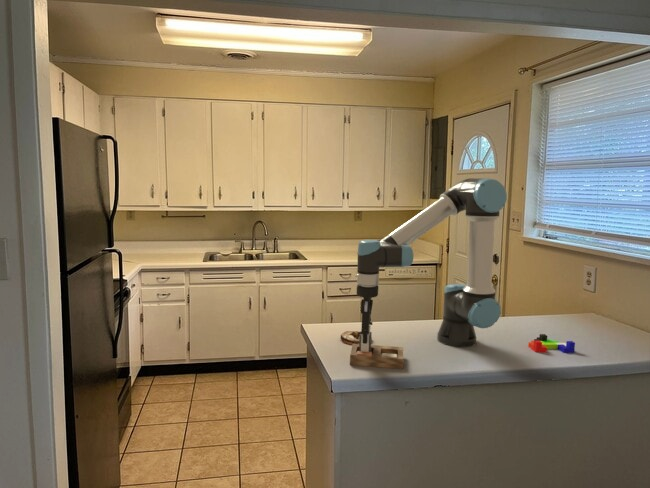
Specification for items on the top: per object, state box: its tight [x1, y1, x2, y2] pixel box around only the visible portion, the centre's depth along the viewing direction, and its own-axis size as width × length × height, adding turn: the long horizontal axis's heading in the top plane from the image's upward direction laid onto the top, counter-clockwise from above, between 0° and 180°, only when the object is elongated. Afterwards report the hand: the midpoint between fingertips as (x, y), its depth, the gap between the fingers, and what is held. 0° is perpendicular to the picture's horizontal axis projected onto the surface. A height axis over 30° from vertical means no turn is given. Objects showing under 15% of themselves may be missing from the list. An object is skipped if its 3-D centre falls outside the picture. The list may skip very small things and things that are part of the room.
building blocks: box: [527, 333, 576, 354], centre depth 191 cm, size 15×13×4 cm
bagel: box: [339, 330, 373, 346], centre depth 193 cm, size 15×15×4 cm
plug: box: [359, 327, 373, 352], centre depth 171 cm, size 4×4×10 cm
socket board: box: [349, 344, 404, 370], centre depth 171 cm, size 18×12×4 cm, turn 82°
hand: (365, 346), depth 173 cm, fingers open, 8 cm apart
